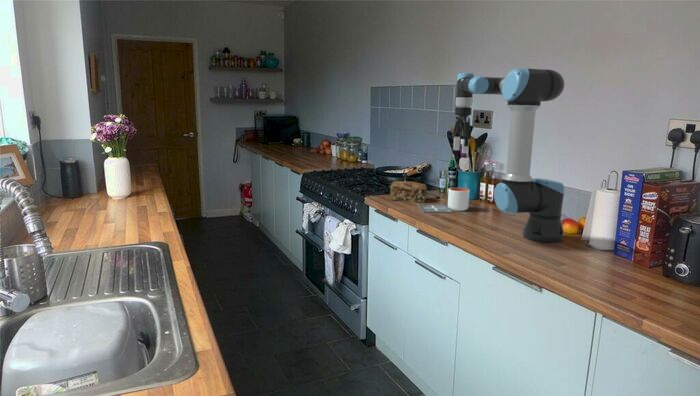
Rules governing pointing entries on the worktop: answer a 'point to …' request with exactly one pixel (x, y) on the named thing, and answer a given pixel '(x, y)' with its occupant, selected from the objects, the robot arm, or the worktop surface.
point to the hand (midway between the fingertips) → (460, 151)
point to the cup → (458, 199)
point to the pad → (434, 209)
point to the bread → (408, 191)
